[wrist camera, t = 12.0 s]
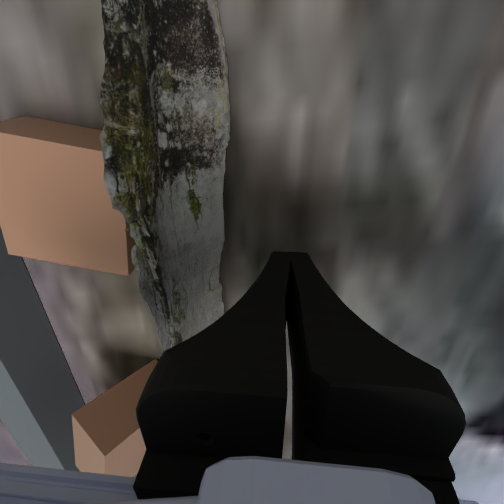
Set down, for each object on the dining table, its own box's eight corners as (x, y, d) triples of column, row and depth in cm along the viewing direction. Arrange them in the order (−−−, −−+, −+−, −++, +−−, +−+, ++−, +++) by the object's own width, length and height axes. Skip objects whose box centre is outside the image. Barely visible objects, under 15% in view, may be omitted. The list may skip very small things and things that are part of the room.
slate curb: (-120, -70, 9) (-280, -122, 6) (118, 481, 25) (99, 529, 23) (-182, -68, 9) (-364, -119, 7) (94, 479, 26) (72, 525, 23)
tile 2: (155, 358, 17) (186, 388, 16) (148, 406, 20) (176, 436, 19) (71, 414, 14) (104, 456, 13) (75, 465, 16) (104, 504, 15)
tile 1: (152, 137, 12) (121, 155, 9) (152, 243, 14) (128, 276, 12) (30, 114, 12) (-28, 127, 9) (51, 224, 14) (8, 253, 12)
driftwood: (227, -342, 7) (-123, -661, 4) (323, -467, 5) (-166, -1196, 2) (223, 488, 26) (166, 538, 23) (242, 518, 24) (184, 576, 21)
